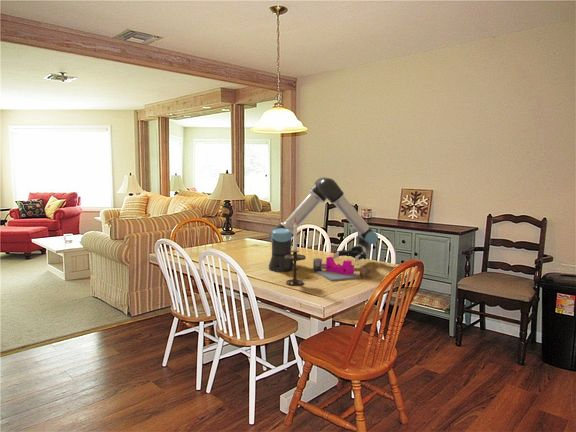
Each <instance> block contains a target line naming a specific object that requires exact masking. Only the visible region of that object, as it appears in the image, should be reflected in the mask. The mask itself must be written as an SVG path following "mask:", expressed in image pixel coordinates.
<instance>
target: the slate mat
mask: <svg viewBox="0 0 576 432" xmlns="http://www.w3.org/2000/svg"><path fill="white" fill-rule="evenodd" d="M316 274H317V275H319V276H321V277H322V278H325V279H326V280H328V281H330V282H336V281H347V280H356V279H362V278H361V276H360V274H357V273H355V272H354V273H352V274H349V275H345V274H340V273H336V272H331V271H326V270H322V271H318V272H316Z"/></svg>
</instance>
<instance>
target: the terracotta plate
mask: <svg viewBox="0 0 576 432" xmlns="http://www.w3.org/2000/svg"><path fill="white" fill-rule="evenodd" d="M322 269H326V261H322Z"/></svg>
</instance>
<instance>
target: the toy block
mask: <svg viewBox="0 0 576 432" xmlns="http://www.w3.org/2000/svg"><path fill="white" fill-rule="evenodd" d="M325 262H326V268H325V271H331V272H336V273H340V274H345V275H349V274H352V273H354V274H355V264H352V262H353V261H352V260H351V259H350V260H348V259H347V260H344V261H343V263H342V264H340V263H338V264H337V263H336V262H335V259H333V256H328V257H326V260H325Z"/></svg>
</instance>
